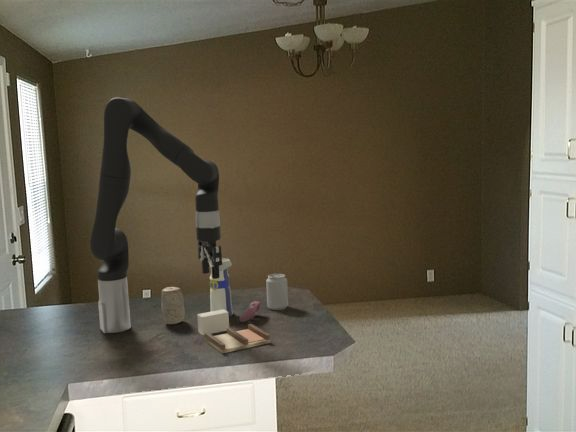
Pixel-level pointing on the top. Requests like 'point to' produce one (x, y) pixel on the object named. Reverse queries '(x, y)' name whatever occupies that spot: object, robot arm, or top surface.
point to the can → (277, 292)
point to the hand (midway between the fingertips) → (210, 275)
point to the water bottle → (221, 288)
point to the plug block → (213, 322)
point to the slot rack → (238, 339)
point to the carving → (172, 305)
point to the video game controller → (251, 311)
